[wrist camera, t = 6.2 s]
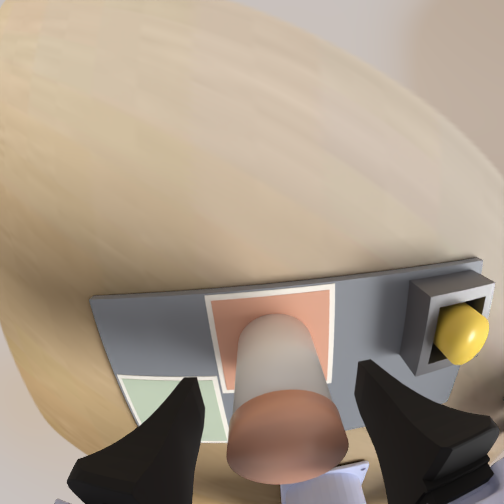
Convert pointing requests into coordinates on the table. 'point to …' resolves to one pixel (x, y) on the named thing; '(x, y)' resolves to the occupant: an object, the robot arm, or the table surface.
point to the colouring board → (245, 311)
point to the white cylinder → (282, 406)
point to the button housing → (427, 310)
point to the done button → (460, 332)
